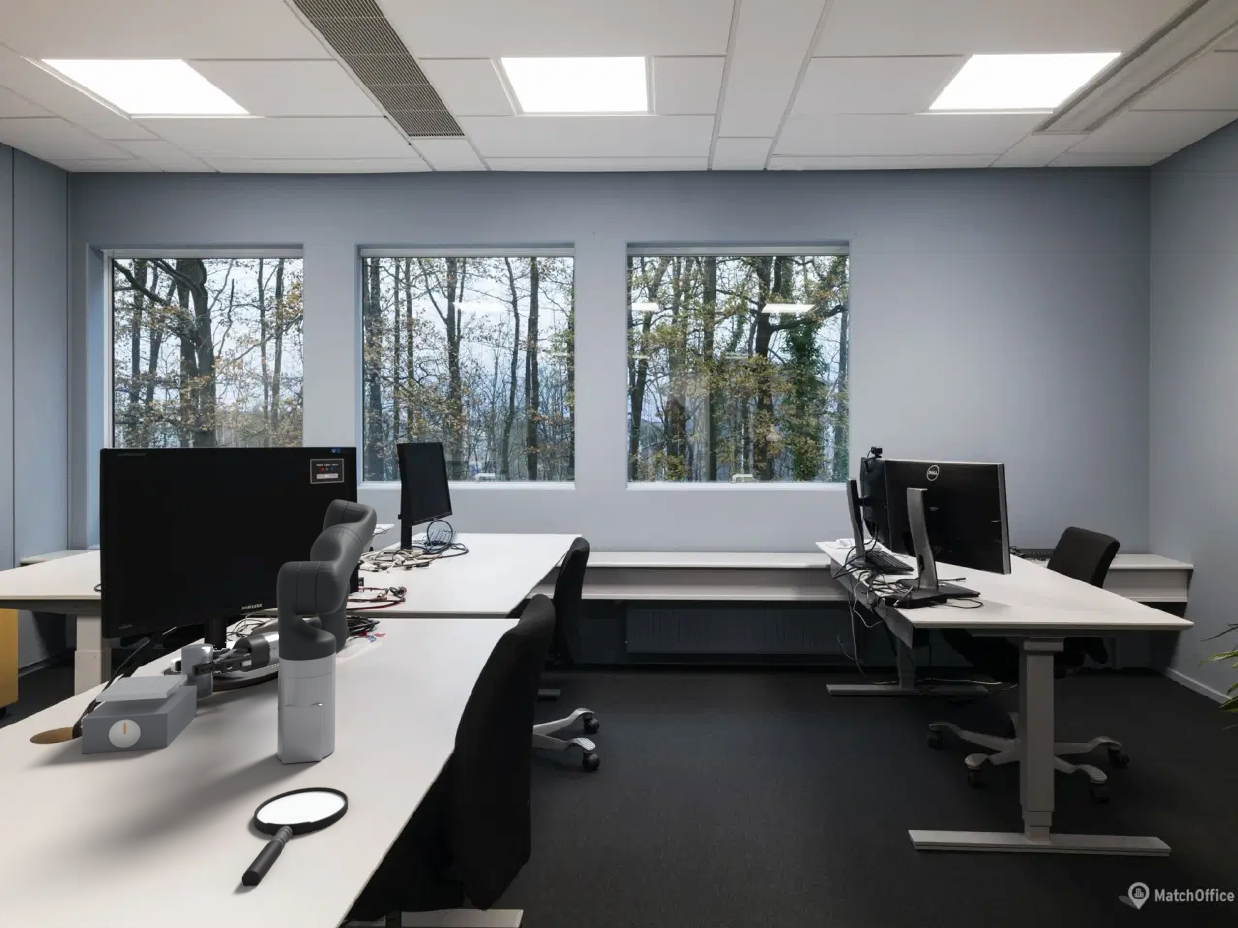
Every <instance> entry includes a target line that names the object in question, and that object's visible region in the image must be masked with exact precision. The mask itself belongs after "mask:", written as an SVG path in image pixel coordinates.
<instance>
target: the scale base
mask: <svg viewBox="0 0 1238 928" xmlns="http://www.w3.org/2000/svg"><path fill="white" fill-rule="evenodd" d="M196 694H197V685H196V686H181V685H180V686H179V687H178V688H177V689H176V690H175V691H173V692H172V693H171V694H170V695H169V696H168V697H167V698H154V699H137V700H121V701H104V702H103V703H102V704H101V705H99V706H97V708H95V709H93V710H92V711H91V712H90V713H88V714H87V715H86V716H84V717H83V718H82V719H81V720H82V721H81V723H82V728H81V729H82V730H81V731H82V733H81V736H82V737H81V742H82V743H81V754H94V753H95V754H97V753H107V752H109V753H110V752H122V751H123V752H124V751H133V750H134V751H135V750H149V749H150V750H151V749H161V748H163V749H164V748H168V747H169V746H170V745H171V744H172V743H173V742H174V741H175V740H176V738H177V737H178V736H179V735H180V734H181V733H182V732H183V731H184V730H185V728H187V727H188V725H189V724H190V723H191V722H192V721H193V720H194V719H195V718H196V717H197V699H196ZM195 716H196V717H195ZM194 717H195V718H194ZM193 718H194V719H193Z"/></svg>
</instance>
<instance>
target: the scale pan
mask: <svg viewBox="0 0 1238 928" xmlns="http://www.w3.org/2000/svg"><path fill="white" fill-rule="evenodd" d="M186 680H187V674H183V675H181V674H168V675H167V674H166V675H150V676H147V675H146V676H135V677H134V676H131V677H129V676H126V677H121V678H120V679H119V680H117V681H116V682H114V683H112V684H111V685H110V686H108V687H107V688H106V689H104V690H103V691H101V692H100V693H98V694H97V695H96V696H95V703H99V702H101V703H102V702H103V703H104V702H106V701H121V700H137V699H154V698H167V697H168V696H169V695H170V694H171V693H172V692H173V691H175V690H176V689H177V688H178V687H179V686H181V684H182V683H183V682H185V681H186Z"/></svg>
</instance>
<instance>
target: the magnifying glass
mask: <svg viewBox="0 0 1238 928" xmlns="http://www.w3.org/2000/svg"><path fill="white" fill-rule="evenodd" d="M348 809H349V797H348V795H347V794H346V793H345V792H344V791H342V790H339V789H336V788H333V787H325V786H315V787H304V788H298V789H291V790H289V791H285V792H282V793H279V794H276V795H274V796H272V797H270V798H267V799H266V800H265V801H263V802H261V803H260V804H259V805H258V807H257V808H256V809H255V811H254V813H253V825H254V827H255V829H256V830H257V831H258V832H260V833H263V834H265V835H268V836H273V837H272V838H271V839H270V840H269V842H267V843H266V844H265V845H264V847H263V849H261V851H260V852H259V853H258V854H257V856H256V857H255V858H254V860H253V861H252V862H251V864H250V865H248V867H247V868H246V870H245V871H244V872H243V874H242V876H241V883H242V885H243V886H244V887H255V886H258V885H259V884H260V882H261V881H262V880H263V878H264V877H265V876H266V874H267V873H268V872H269V870H270V869H271V867H272V866H273V864H274V863H275V862H276V860H277V859H278V858H279V856H280V855H281V853H282V852H283V849H284V848H285V846H286V843H288V842H289V841H290V840H291V839H292V837H294V836H301V835H307V834H311V833H314V832H319V831H321V830H323V829H326V828H328V827H330V826H332V825H334V824H335V823H338V822H339V821H340V820H341V819H342V818H343V817H345V815H346V814H347V813H348Z"/></svg>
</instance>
